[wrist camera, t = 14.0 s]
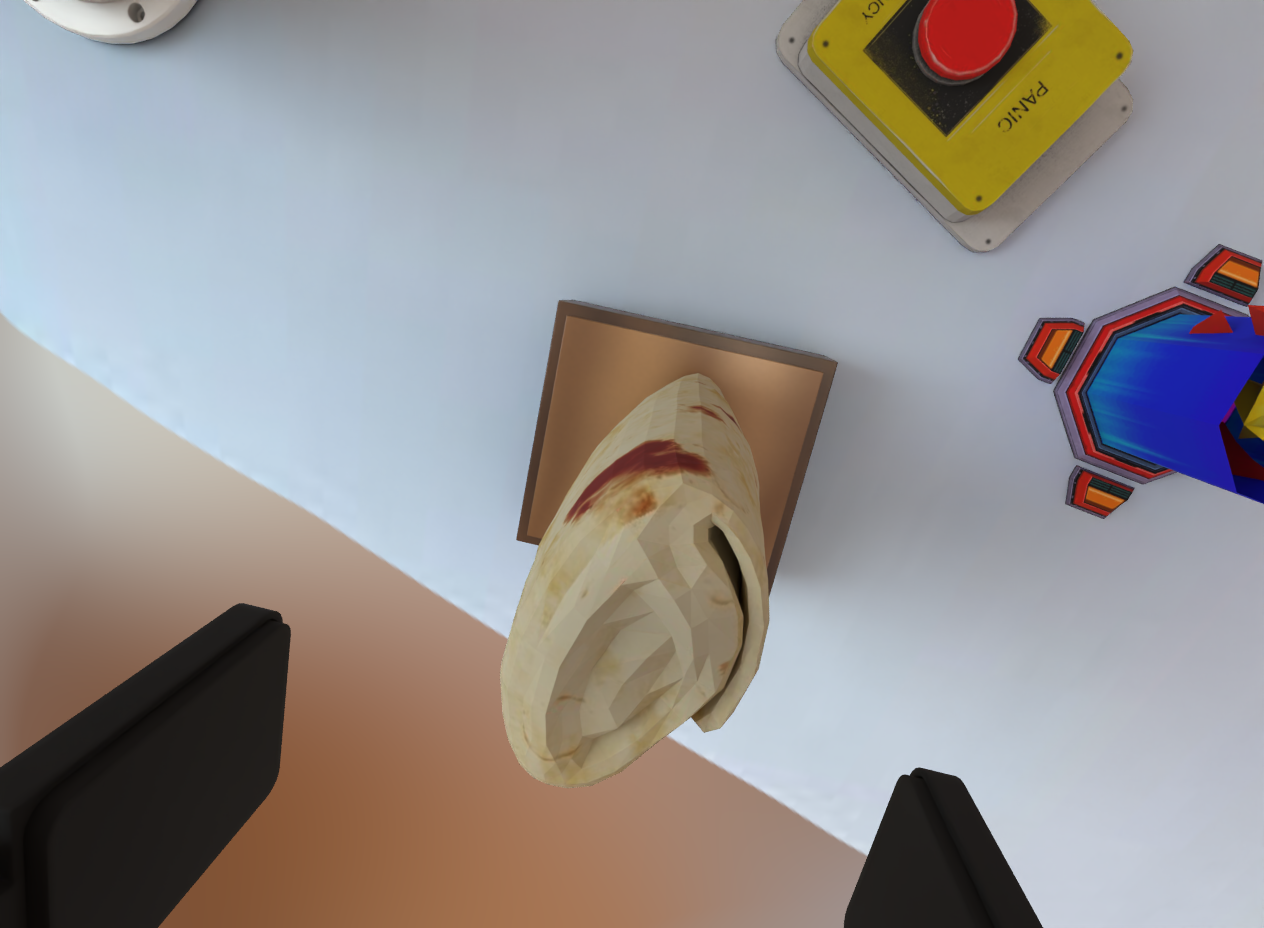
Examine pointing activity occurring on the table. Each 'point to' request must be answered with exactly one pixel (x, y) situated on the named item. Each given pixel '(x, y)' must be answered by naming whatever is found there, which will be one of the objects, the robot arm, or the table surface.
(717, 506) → the food model
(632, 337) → the stand
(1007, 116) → the emergency button
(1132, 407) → the fantasy tower
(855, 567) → the table surface
